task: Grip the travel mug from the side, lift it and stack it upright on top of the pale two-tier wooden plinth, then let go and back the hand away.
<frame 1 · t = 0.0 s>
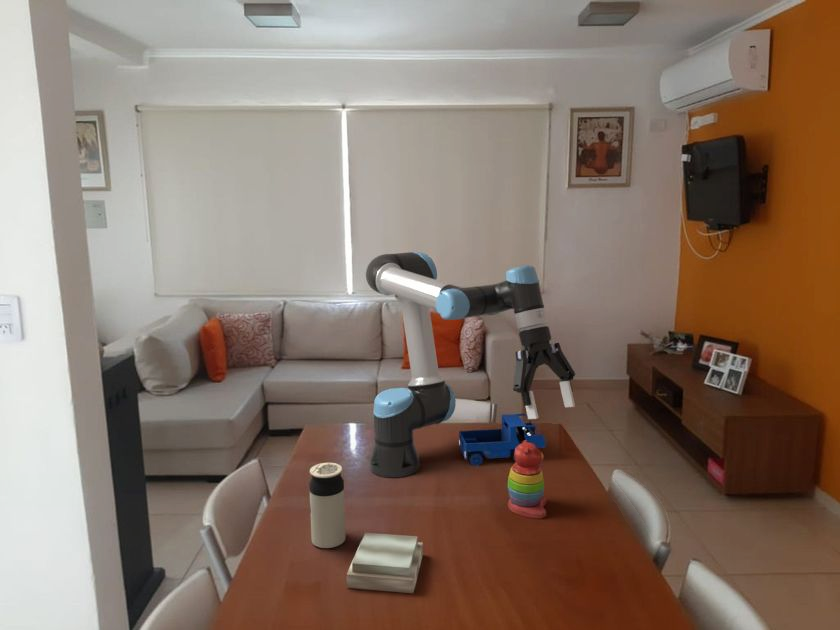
hand: (552, 412, 148), 28 cm above the table, tool tilted 20°, fingers open, 13 cm apart
toy vehicle: (501, 457, 190), on the table
travel mug: (328, 540, 143), on the table
stacking bear: (526, 508, 158), on the table
plinth: (386, 570, 131), on the table
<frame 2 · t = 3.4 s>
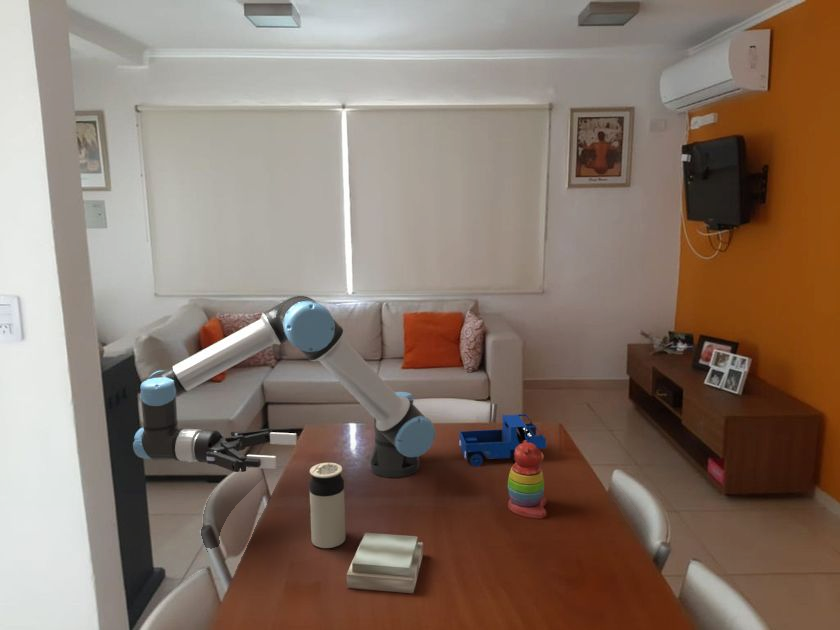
hand: (286, 450, 140), 22 cm above the table, tool horizontal, fingers open, 13 cm apart
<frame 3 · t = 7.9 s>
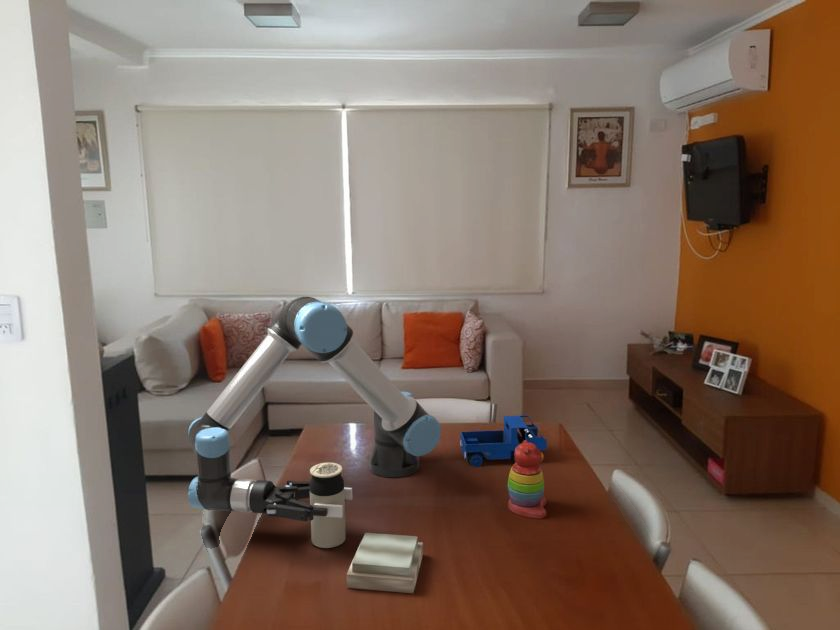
hand: (347, 502, 140), 10 cm above the table, tool horizontal, fingers closed on travel mug, 8 cm apart
travel mug: (328, 540, 143), on the table, touching gripper
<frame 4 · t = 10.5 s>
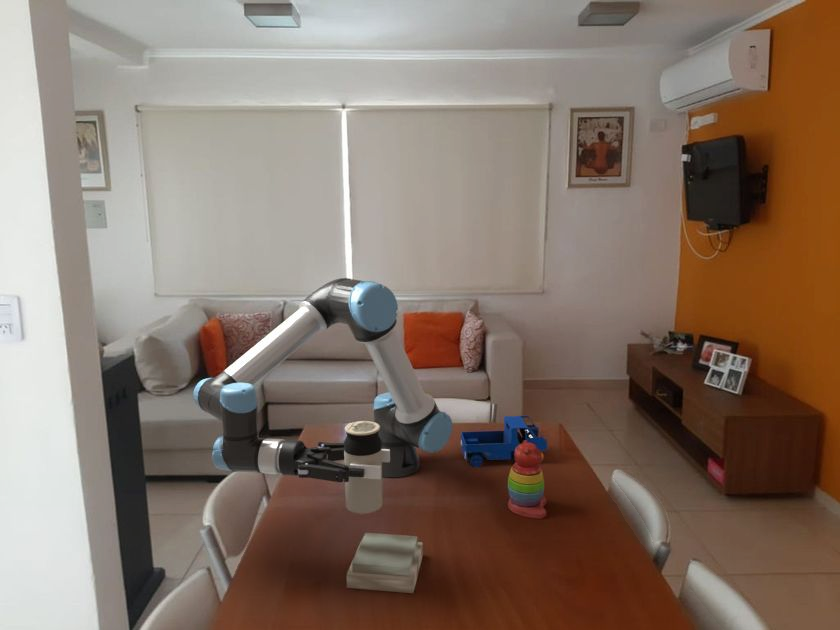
hand: (385, 463, 128), 24 cm above the table, tool horizontal, fingers closed on travel mug, 8 cm apart
travel mug: (364, 506, 131), point 14 cm above the table, touching gripper
when the fingers open (16 cm above the table, at t = 13.1 s): travel mug drops 1 cm, resting on plinth.
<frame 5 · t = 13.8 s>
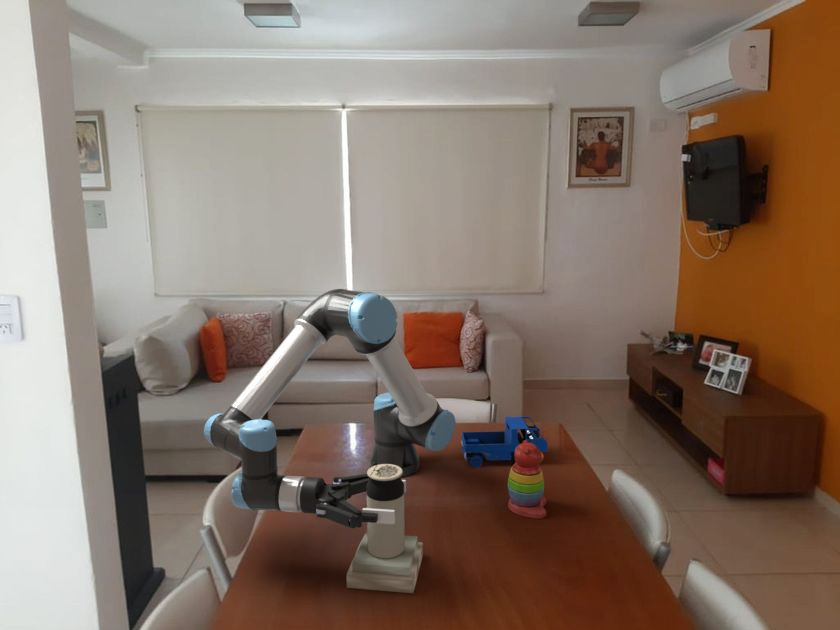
hand: (400, 500, 128), 16 cm above the table, tool horizontal, fingers open, 13 cm apart
travel mug: (386, 549, 130), point 5 cm above the table, touching plinth
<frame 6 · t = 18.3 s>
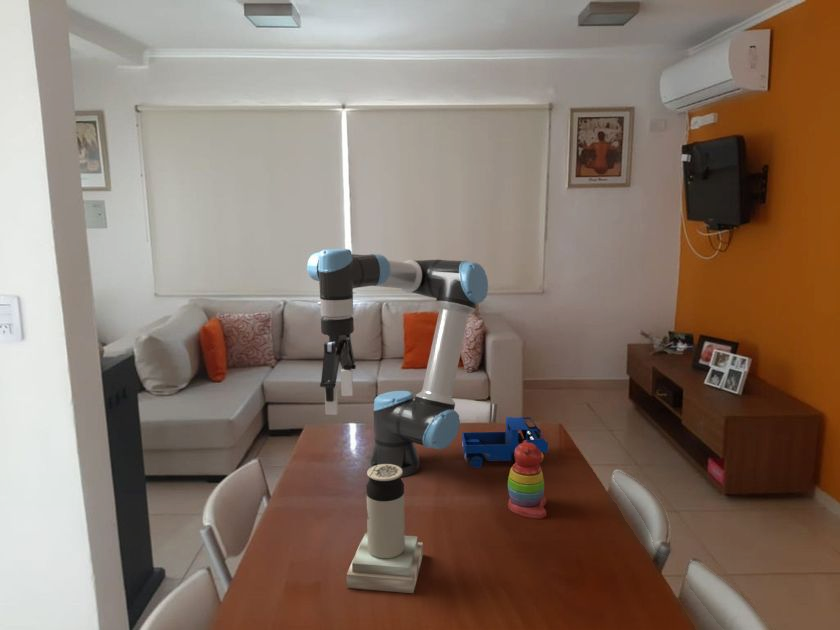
hand: (339, 404, 143), 32 cm above the table, tool pointing down, fingers open, 13 cm apart
at the end: travel mug inside the target area on the plinth (0.1 cm from its centre), point 4.8 cm above the plinth's base; travel mug tilted 0°; the gripper is holding nothing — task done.
